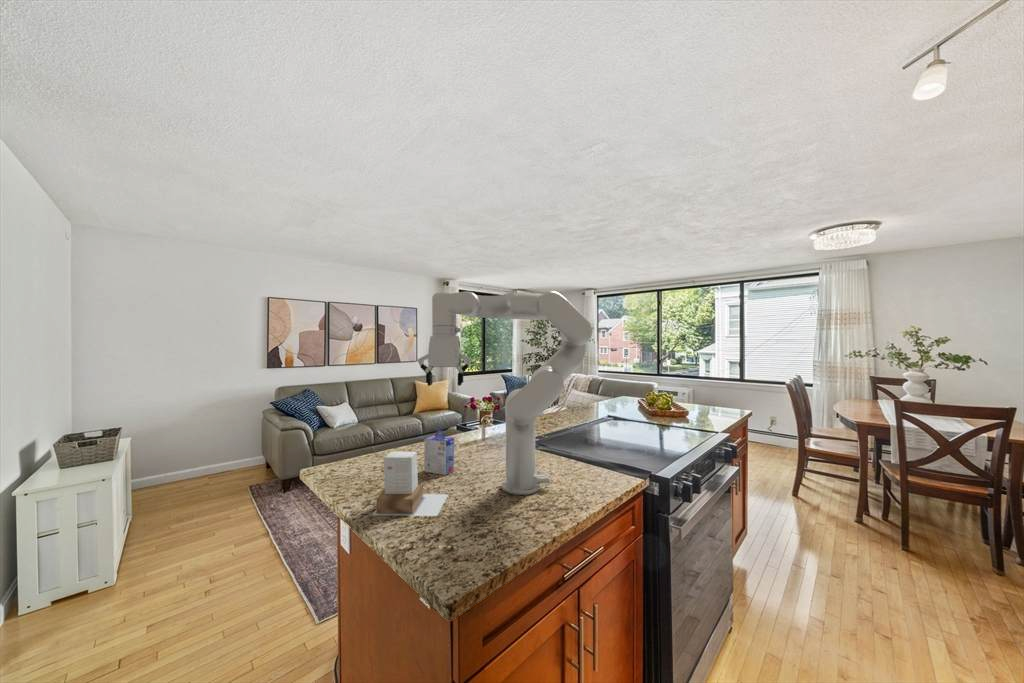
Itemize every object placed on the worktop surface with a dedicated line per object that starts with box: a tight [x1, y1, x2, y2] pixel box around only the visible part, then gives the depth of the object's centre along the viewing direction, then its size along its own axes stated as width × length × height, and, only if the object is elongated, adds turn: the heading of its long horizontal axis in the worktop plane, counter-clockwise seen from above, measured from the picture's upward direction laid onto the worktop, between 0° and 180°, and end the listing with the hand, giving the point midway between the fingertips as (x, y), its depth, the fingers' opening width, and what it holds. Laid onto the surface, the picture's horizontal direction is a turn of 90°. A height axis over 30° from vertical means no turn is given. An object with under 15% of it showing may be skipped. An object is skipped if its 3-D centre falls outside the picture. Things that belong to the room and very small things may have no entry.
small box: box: [383, 451, 419, 494], centre depth 107 cm, size 8×6×10 cm
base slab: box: [375, 484, 424, 514], centre depth 107 cm, size 10×10×4 cm
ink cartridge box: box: [423, 429, 455, 476], centre depth 135 cm, size 10×6×14 cm, turn 66°
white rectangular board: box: [371, 493, 449, 517], centre depth 107 cm, size 18×14×1 cm
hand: (444, 385), depth 119 cm, fingers open, 9 cm apart
